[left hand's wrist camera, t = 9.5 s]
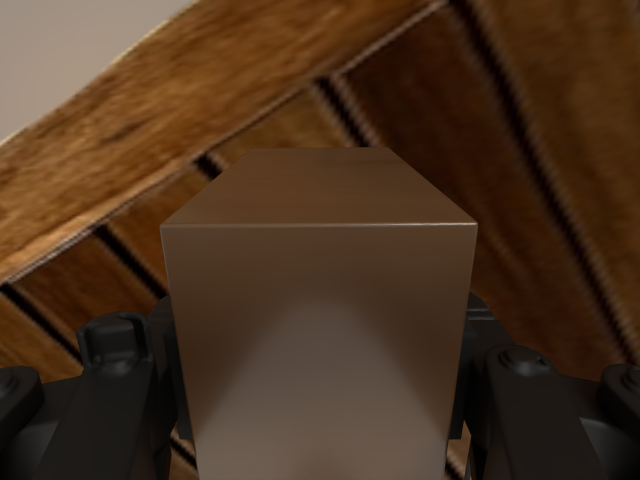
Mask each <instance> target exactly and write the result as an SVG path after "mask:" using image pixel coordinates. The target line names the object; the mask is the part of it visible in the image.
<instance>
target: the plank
mask: <svg viewBox="0 0 640 480" xmlns="http://www.w3.org/2000/svg"><path fill="white" fill-rule="evenodd" d="M477 230H478V223H477V222H476V221H475V220H474V219H473V218H472V217H470V216H469V215H468V214H467V213H466V212H464V211H463V210H462V209H461V208H460V207H458V206H457V205H456V204H455V203H454V202H452V201H451V200H450V199H449V198H448V197H446V196H445V195H444V194H443V193H442V192H440V191H439V190H438V189H437V188H436V187H434V186H433V185H432V184H431V183H430V182H429V181H427V180H426V179H425V178H424V177H423V176H421V175H420V174H419V173H418V172H417V171H415V170H414V169H413V168H412V167H411V166H409V165H408V164H407V163H406V162H405V161H403V160H402V159H401V158H400V157H399V156H397V155H396V154H395V153H394V152H393V151H391V150H390V149H389V148H387V147H363V148H251V149H250V150H249V151H247V152H246V153H245V154H244V155H243V156H241V157H240V158H239V159H238V160H237V161H235V162H234V163H233V164H232V165H231V166H230V167H228V168H227V169H226V170H225V171H224V172H222V173H221V174H220V175H219V176H218V177H216V178H215V179H214V180H213V181H212V182H210V183H209V184H208V185H207V186H206V187H205V188H203V189H202V190H201V191H200V192H199V193H197V194H196V195H195V196H194V197H193V198H191V199H190V200H189V201H188V202H187V203H185V204H184V205H183V206H182V207H181V208H179V209H178V210H177V211H176V212H175V213H174V214H172V215H171V216H170V217H169V218H168V219H166V220H165V221H164V222H163V223H162V224H160V233H161V239H162V246H163V252H164V259H165V265H166V271H167V278H168V284H169V291H170V297H171V303H172V310H173V316H174V323H175V329H176V336H177V342H178V348H179V355H180V361H181V368H182V374H183V381H184V387H185V393H186V400H187V406H188V413H189V419H190V425H191V432H192V438H193V445H194V451H195V458H196V464H197V470H198V477H199V480H443V476H444V468H445V461H446V454H447V447H448V439H449V432H450V425H451V418H452V411H453V403H454V396H455V389H456V382H457V374H458V367H459V360H460V353H461V346H462V338H463V331H464V324H465V317H466V310H467V302H468V295H469V288H470V281H471V273H472V266H473V259H474V252H475V245H476V237H477Z"/></svg>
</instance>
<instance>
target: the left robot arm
mask: <svg viewBox="0 0 640 480" xmlns="http://www.w3.org/2000/svg"><path fill="white" fill-rule="evenodd" d="M76 337H77V341H78V345H79V349H80V353H81V357H82V361H83V365H84V370H83V372H82V374H81V376H77V377H73V378H69V379H64V380H59V381H54V382H49V383H44V384H41V380H40V377H39V373H38V371H36V370H35V369H34V368H32V367H27V366H13V367H5V368H0V480H169V471H170V463H171V448H170V442H169V436H170V434H171V432H172V429H173V427H174V425H175V423H176V420H177V427H178V433H179V439H193V438H192V432H191V425H190V419H189V413H188V406H187V400H186V393H185V387H184V381H183V374H182V368H181V361H180V355H179V348H178V342H177V336H176V329H175V323H174V316H173V310H172V303H171V297H170V294H169V295H167V296H166V297H164V298H162V299H161V300H159V301H158V303H157V304H156V305H155V307H154V308H153V309H152V310H151V313H149V314H148V316H146V315H145V314H143V313H140V312H136V311H118V312H113V313H108V314H105V315H102V316H99V317H97V318H94V319H92V320H90V321H89V322H87V323H85V324H84V325H82V326H81V327H80V328H79V329H78V330H77V332H76ZM464 420H465V422H466V425H467V427H468V429H469V431H470V434H471V442H470V447H469V453H468V459H467V465H466V471H465V478H464V480H470V476H471V479H472V480H640V366H635V365H626V364H615V365H609V366H607V367H606V368H605V369H604V370H603V371H602V375H601V378H600V381H599V382H596V381H591V380H586V379H581V378H576V377H571V376H566V375H562V374H559V373H558V371H557V369H556V367H555V366H554V365H553V364H552V362H551V361H550V360H549V359H548V358H546V357H545V356H543V355H542V354H541V353H539V352H537V351H535V350H532V349H530V348H528V347H524V346H520V345H517V344H516V343H515V342H514V341H513V339H512V338H511V337H510V335H509V334H508V333H507V332H506V330H505V329H504V328H503V326H502V325H501V324H500V323H499V321H498V320H496V317H495V316H494V315H493V314H492V312H491V311H489V308H488V307H487V306H486V305H485V303H484V302H483V301H482V299H480V298H479V297H477V296H475V295H474V294H472V293H471V292H469V295H468V302H467V310H466V317H465V324H464V331H463V338H462V346H461V353H460V360H459V367H458V374H457V382H456V389H455V396H454V403H453V411H452V418H451V425H450V432H449V439H461V435H462V428H463V422H464Z"/></svg>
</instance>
